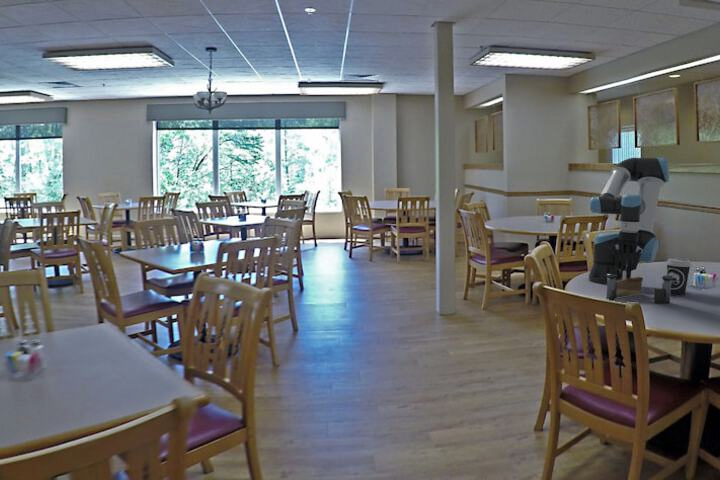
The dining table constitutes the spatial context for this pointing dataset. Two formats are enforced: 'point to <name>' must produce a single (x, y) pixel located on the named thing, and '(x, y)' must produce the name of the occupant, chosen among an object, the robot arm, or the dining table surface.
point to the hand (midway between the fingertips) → (625, 285)
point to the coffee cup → (678, 275)
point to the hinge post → (611, 286)
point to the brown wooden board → (628, 287)
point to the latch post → (663, 291)
